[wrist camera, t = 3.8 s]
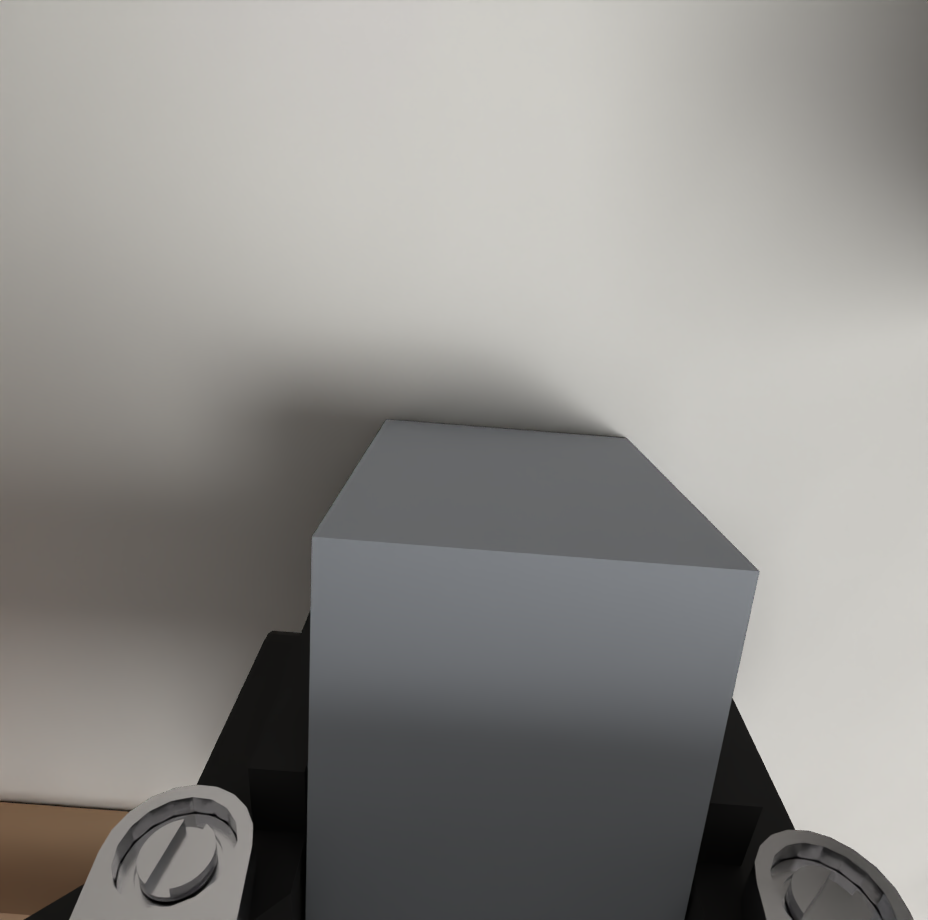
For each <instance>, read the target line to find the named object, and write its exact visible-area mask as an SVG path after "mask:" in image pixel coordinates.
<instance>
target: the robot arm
mask: <svg viewBox="0 0 928 920" xmlns="http://www.w3.org/2000/svg"><path fill="white" fill-rule="evenodd" d="M310 617H311V610H310V612H309V615H308V617H307V620H306V622H305V625H304V627H303V630H302V633H295V632H281V631H272V632H270V633H269V634H268V635H267V637H266V639H265V640H264V642H263V644H262V647H261V649H260V651H259V653H258V655H257V657H256V659H255V662H254V664H253V666H252V668H251V670H250V672H249V674H248V676H247V679H246V681H245V683H244V685H243V687H242V689H241V691H240V694H239V696H238V698H237V700H236V702H235V704H234V706H233V709H232V711H231V713H230V715H229V717H228V719H227V721H226V723H225V726H224V728H223V730H222V732H221V734H220V736H219V738H218V741H217V743H216V745H215V747H214V749H213V751H212V753H211V755H210V758H209V760H208V762H207V764H206V766H205V768H204V770H203V773H202V775H201V777H200V779H199V781H198V783H197V785H192V786H185V787H179V788H174V789H171V790H168V791H166V792H163V793H161V794H158V795H156V796H153V797H151V798H149V799H148V800H146V801H145V802H143V803H142V804H140V805H139V806H137V807H136V808H134V809H133V810H131V811H130V812H129V813H128V814H127V815H126V816H125V817H124V818H123V819H122V820H121V821H120V822H119V823H118V824H117V825H116V826H115V827H114V828H113V829H112V830H111V832H110V833H109V835H108V837H107V838H106V840H105V842H104V843H103V845H102V847H101V848H100V850H99V852H98V854H97V856H96V859H95V861H94V863H93V866H92V868H91V870H90V873H89V875H88V877H87V880H86V882H85V884H83V885H81V886H79V887H78V888H76V889H74V890H73V891H71V892H69V893H68V894H66V895H64V896H63V897H61V898H59V899H58V900H56V901H54V902H52V903H51V904H49V905H47V906H46V907H44V908H42V909H41V910H39V911H37V912H36V913H34V914H32V915H31V916H29V917H27V918H26V919H24V920H306V861H307V800H308V739H309V678H310ZM684 920H913V917H912V915H911V913H910V911H909V910H908V908H907V906H906V905H905V903H904V901H903V900H902V898H901V896H900V895H899V893H898V891H897V890H896V888H895V887H894V886H893V885H892V884H891V883H890V882H889V881H888V880H887V878H886V877H885V876H884V875H883V874H882V873H881V872H880V871H879V870H878V868H877V867H875V866H874V865H873V864H871V863H870V862H869V861H868V860H866V859H865V858H864V857H863V856H861V855H860V854H859V853H857V852H856V851H855V850H853V849H851V848H850V847H848V846H846V845H844V844H842V843H840V842H838V841H836V840H835V839H833V838H831V837H828V836H824V835H821V834H818V833H814V832H811V831H805V830H795V828H794V826H793V824H792V822H791V820H790V818H789V816H788V814H787V811H786V809H785V807H784V805H783V803H782V801H781V799H780V797H779V795H778V793H777V790H776V788H775V786H774V784H773V782H772V780H771V778H770V776H769V774H768V772H767V770H766V767H765V765H764V763H763V761H762V759H761V757H760V755H759V753H758V751H757V749H756V746H755V744H754V742H753V740H752V738H751V736H750V734H749V732H748V730H747V728H746V725H745V723H744V721H743V719H742V717H741V715H740V713H739V711H738V709H737V707H736V704H735V702H734V700H733V698H732V701H731V705H730V710H729V715H728V719H727V724H726V729H725V733H724V738H723V743H722V747H721V752H720V756H719V761H718V766H717V770H716V775H715V780H714V784H713V789H712V794H711V798H710V803H709V808H708V812H707V817H706V821H705V826H704V831H703V835H702V840H701V845H700V849H699V854H698V859H697V863H696V868H695V873H694V877H693V882H692V887H691V891H690V896H689V900H688V905H687V910H686V914H685V919H684Z"/></svg>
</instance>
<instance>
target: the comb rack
mask: <svg viewBox="0 0 928 920" xmlns="http://www.w3.org/2000/svg"><path fill="white" fill-rule="evenodd" d="M128 813H129V812H126V811H113V810H99V809H86V808H73V807H59V806H46V805H32V804H19V803H6V802H0V920H24V919H26V918H27V917H29V916H31V915H32V914H34V913H36V912H37V911H39V910H41V909H42V908H44V907H46V906H47V905H49V904H51V903H52V902H54V901H56V900H58V899H59V898H61V897H63V896H64V895H66V894H68V893H69V892H71V891H73V890H74V889H76V888H78V887H79V886H81V885H83V884H85V882H86V880H87V877H88V875H89V873H90V870H91V868H92V866H93V863H94V861H95V859H96V856H97V854H98V852H99V850H100V848H101V847H102V845H103V843H104V842H105V840H106V838H107V837H108V835H109V833H110V832H111V830H112V829H113V828H114V827H115V826H116V825H117V824H118V823H119V822H120V821H121V820H122V819H123V818H124V817H125V816H126V815H127V814H128Z"/></svg>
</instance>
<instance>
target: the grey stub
mask: <svg viewBox="0 0 928 920" xmlns="http://www.w3.org/2000/svg"><path fill="white" fill-rule="evenodd" d="M758 575H759V570H758V569H757V568H756V567H755V566H754V565H753V564H752V563H751V562H750V561H749V560H748V559H747V558H746V557H745V556H744V555H743V554H742V553H741V552H740V551H739V550H738V549H737V548H736V547H735V546H734V545H733V544H732V543H731V542H730V541H729V540H728V539H727V538H726V537H725V536H724V535H723V534H722V533H721V532H720V531H719V530H718V529H717V528H716V527H715V526H714V525H713V524H712V523H711V522H710V521H709V520H708V519H707V518H706V517H705V516H704V515H703V514H702V513H701V512H700V511H699V510H698V509H697V508H696V507H695V506H694V505H693V504H692V503H691V502H690V501H689V500H688V499H687V498H686V497H685V496H684V495H683V494H682V493H681V492H680V491H679V490H678V489H677V488H676V487H675V486H674V485H673V484H672V483H671V482H670V481H669V480H668V479H667V478H666V477H665V476H664V475H663V474H662V473H661V472H660V471H659V470H658V469H657V468H656V467H655V466H654V465H653V464H652V463H651V462H650V461H649V460H648V459H647V458H646V457H645V456H644V455H643V454H642V453H641V452H640V451H639V450H638V449H637V448H636V447H635V446H634V445H633V444H632V443H631V442H630V441H629V440H628V439H627V438H618V437H606V436H593V435H580V434H568V433H555V432H542V431H529V430H517V429H504V428H491V427H478V426H466V425H453V424H440V423H427V422H415V421H402V420H389V419H386V421H385V422H384V424H383V425H382V427H381V428H380V430H379V432H378V433H377V435H376V436H375V438H374V440H373V441H372V443H371V444H370V446H369V447H368V449H367V451H366V452H365V454H364V455H363V457H362V458H361V460H360V462H359V463H358V465H357V466H356V468H355V469H354V471H353V473H352V474H351V476H350V477H349V479H348V481H347V482H346V484H345V485H344V487H343V488H342V490H341V492H340V493H339V495H338V496H337V498H336V499H335V501H334V503H333V504H332V506H331V507H330V509H329V510H328V512H327V514H326V515H325V517H324V518H323V520H322V522H321V523H320V525H319V526H318V528H317V529H316V531H315V533H314V534H313V536H312V556H311V617H310V678H309V739H308V800H307V861H306V920H684V919H685V914H686V910H687V905H688V900H689V896H690V891H691V887H692V882H693V877H694V873H695V868H696V863H697V859H698V854H699V849H700V845H701V840H702V835H703V831H704V826H705V821H706V817H707V812H708V808H709V803H710V798H711V794H712V789H713V784H714V780H715V775H716V770H717V766H718V761H719V756H720V752H721V747H722V743H723V738H724V733H725V729H726V724H727V719H728V715H729V710H730V705H731V701H732V696H733V691H734V687H735V682H736V678H737V673H738V668H739V664H740V659H741V654H742V650H743V645H744V640H745V636H746V631H747V626H748V622H749V617H750V613H751V608H752V603H753V599H754V594H755V589H756V585H757V580H758Z"/></svg>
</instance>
